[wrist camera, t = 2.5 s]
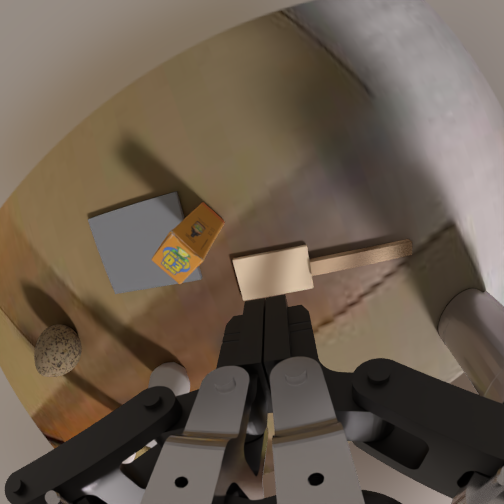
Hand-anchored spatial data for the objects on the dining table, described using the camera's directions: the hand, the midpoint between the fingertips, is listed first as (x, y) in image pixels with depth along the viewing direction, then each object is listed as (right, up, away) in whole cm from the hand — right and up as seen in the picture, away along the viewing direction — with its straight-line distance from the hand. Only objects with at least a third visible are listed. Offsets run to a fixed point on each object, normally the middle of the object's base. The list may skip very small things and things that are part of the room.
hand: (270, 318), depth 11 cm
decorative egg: (-29, -10, +27) cm, 41 cm away
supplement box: (-6, +6, +19) cm, 21 cm away
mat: (-13, +3, +21) cm, 25 cm away
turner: (+8, +1, +20) cm, 21 cm away
